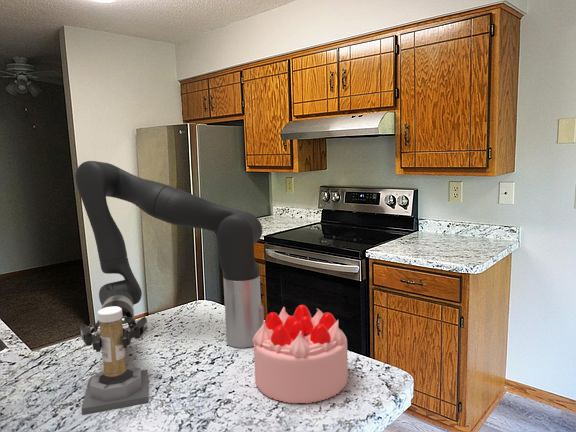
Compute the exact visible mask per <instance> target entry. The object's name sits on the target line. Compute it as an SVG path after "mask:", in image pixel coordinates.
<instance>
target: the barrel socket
mask: <svg viewBox="0 0 576 432" xmlns="http://www.w3.org/2000/svg"><path fill="white" fill-rule="evenodd" d="M126 367H127V370H126V371H125V373H123V374H121V375H119V376H116V377H107V376H105V375H104V374H103V371H104V369H103V370H101V371H99V372H97V373H95V374H94V375H92V376H91V378H88V382H87V384H86V389H85V393H84V398H83V401H82V405H81V410H80V411H81V415H87V414H92V413H93V414H94V413H98V412H104V411H109V410H115V409H120V408H126V407H132V406H136V405H141V404H142V405H143V404H146V403H149V371H148V370H149V369H141V368H142V367H141V368H140V367H138V366H134V365H129V364H126Z"/></svg>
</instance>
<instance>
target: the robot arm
mask: <svg viewBox="0 0 576 432" xmlns="http://www.w3.org/2000/svg"><path fill="white" fill-rule="evenodd" d="M74 178H75V184H76V188H77V191H78V194H79V196H80V198H81V201H82V205H83V206H84V210H85V212H86V216H87V218H88V220H89V224H90V226H91V230H92V233H93V237H94V239H95V243H96V244H95V245H96V249H97V253H98V260H99V265H100V270H101V272H102V273H103V274H109V275H110V274H114V275H115V274H118V275H121V276H122V277H123V279H122V280H118V281H113V282H109V283H106V284H104V285H102V286H101V287H100V288H99V292H98V299H99V302H100V304H101V305H100V306H101V307H100V310H101V309H103V308H106V307H112V306H117V307H120V308H121V309H122V315H123V317H122V328H123V348H125V349H127V348H128V346H130V345H131V344H132V341H133V339H135V340H140V339H141V338H142V337H143V335H144V334H145V332H146V331H147V330H148V319H147V317H145V316H144V317H141V318H140V319H137V320H135V319H134V318H135V309H134V306H135V305H137V304H139V302H140V301H141V299H142V295H143V293H142V288H141V286H140V284H139V282H138V281H137V278H136V276H135V275H134V273H133V269H132V268H131V265H130V263H129V258H128V252H127V247H126V242H125V239H124V237H123V234H122V232H121V230H120V229H119V226H118V225H117V223H116V222H115V219H114V218H113V216H112V214H111V212H110V208H109V205H108V202H107V198H115V199H118V200H122V201H126V202H128V203H131V204H133V205H135V206H136V207H138V208H139V209H140V210H142V211H143V212H144V213H146V214H147V215H148V216H151V217H152V218H154V219H157V220H159V221H163V222H165V223H168V224H170V225H175V226H177V227H178V226H180V227H183V228H184V227H185V228H192V229H200V230H206V231H209V232H210V231H211V232H212V233H213V232H214V233H215V234H217V249H218V261H219V265H220V268H221V271H222V275H223V276H222V279H223V295H224V316H225V337H226V343H227V345H228V346H229V347H233V348H239V349H243V348H244V349H245V348H251V347H254V343H253V341H252V340H253V338H254V336H255V334H256V333H257V331H258V330H259V329H260V328H261V326H262V325H263V324H264V322H265V319H264V306H263V304H262V301H261V299H262V298H261V297H262V296H261V294H262V293H261V271H260V270H261V269H260V265H259V264H258V263H257V262H256V260H255V247H254V245H255V244H257V242H258V241H260V239H261V237H263V236H262V235H263V226H262V223H261V221H260V220H259V219H258V217H256V216H255V214H253V213H251V212H248V211H244V210H240V209H236V208H231V207H227V206H224V205H220V204H216V203H215V202H214V203H213V202H211V201H210V200H208V199H204V198H203V197H199V196H197V195H195V194H192V193H190V192H187V191H185V190H182V189H179V188H176V187H174V186H171V185H169V184H168V185H167V184H165V183H162V182H158V181H155V180H150V179H146V178H142V177H139V176H136V175H134V174H132V173H130V172H128V171H127V170H124V169H122V168H120V167H118V166H116V165H115V164H111V163H108V162H102V161H96V160H87V161H83V162H82V163H81V164H79V165H78V167H77V168H76V170H75V177H74ZM80 336H81V339H82V341H83V343H84V344H85V345H84V346H92V351H96V353H99V352H102V349H101V338H100V323H99V321H98V320H97V322H96V323H94V325H93V326H90V325H89V326H88V325H87V324H82V325H80Z"/></svg>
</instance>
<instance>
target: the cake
mask: <svg viewBox="0 0 576 432" xmlns="http://www.w3.org/2000/svg"><path fill="white" fill-rule="evenodd" d="M316 310H317V311H316V313H315V314H314V315H313V317H312V314H311V312H310V310H309V308H308V307H307V306H306V305H305V304H300V305H298V306H297V307H296V308H295V310H294V313H293V315H289V314H288V312H287V311H286V307H285V306H283V307H282V309H281V310H280V312H279V314H278V313H277V312H275V311H271V312H269V313H268V314H267V316H266V318H265V319H264V324H263V325H262V326H261V328H260V329H259V330H258V331H257V333H256V334H255V336H254V338H253V340H252V341H253V343H254V346H253V357H254V359H253V361H254V363H253V364H254V382H255V385H256V387H257V388H258V390H259V391H260V392H261V393H262V394H264V395H265V396H266V397H268V398H270V399H272V398H273V399H272V400H275V401H278V400H279V401H278V402H281V401H283V403H286V402H287V404H288V403H289V404H297V403H306V404H312V402H314V403H318V402H317V401H320V402H322V401H321V400H324V401H326V400H329V399H331V398H333V397H335V396H337V395H338V394H340V393H341V392H342V391H341V390H344V388H345V387H346V386H347V383H348V377H349V376H348V374H349V373H348V372H349V371H348V367H349V365H348V339H347V336H346V335H345V333H344V332H343V330H342V329H340V328H339V319H337V320H336V318H335V316H334V315H333V314H332V313H331V312H323V311H322V310H320V309H319V308H316ZM340 391H341V392H340ZM339 392H340V393H339ZM336 394H337V395H336ZM332 396H333V397H332ZM330 397H331V398H330ZM328 398H329V399H328ZM325 399H326V400H325Z"/></svg>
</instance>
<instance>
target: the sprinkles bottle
mask: <svg viewBox="0 0 576 432" xmlns="http://www.w3.org/2000/svg"><path fill="white" fill-rule="evenodd" d="M122 317H123V315H122V309H121V308H120V307H117V306H112V307H106V308H103V309H101V308H100V309H99V310H98V311H97V321H99V323H100V338H101V359H102V362H103V363H102V365H103V370H104V371H103V370H102V371H103V374H104V375H105V376H107V377H116V376H119V375H121V374H123V373H125V371H126V370H127V367H126V365H127V364H126V363H127V362H126V348H123V328H122Z"/></svg>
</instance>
